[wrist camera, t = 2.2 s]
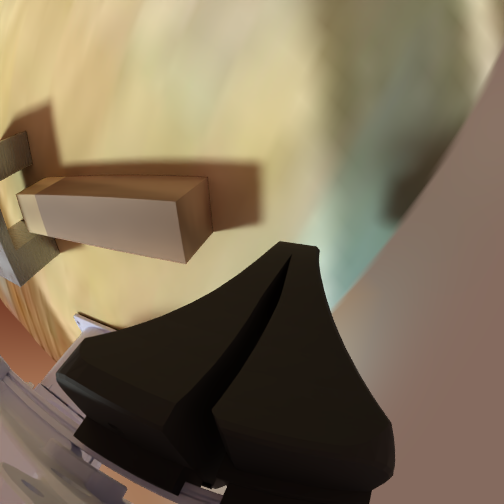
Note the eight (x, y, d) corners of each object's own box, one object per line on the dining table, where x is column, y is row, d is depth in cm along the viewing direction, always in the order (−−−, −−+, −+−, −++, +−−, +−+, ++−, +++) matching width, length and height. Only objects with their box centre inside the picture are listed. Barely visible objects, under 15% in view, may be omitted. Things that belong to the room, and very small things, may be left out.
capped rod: (213, 231, 15) (185, 264, 13) (55, 212, 19) (28, 231, 17) (207, 176, 14) (175, 201, 11) (45, 177, 18) (16, 194, 15)
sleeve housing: (59, 253, 22) (20, 286, 18) (29, 244, 23) (-5, 272, 19) (25, 130, 16) (-27, 154, 12) (-1, 141, 17) (-44, 162, 13)
